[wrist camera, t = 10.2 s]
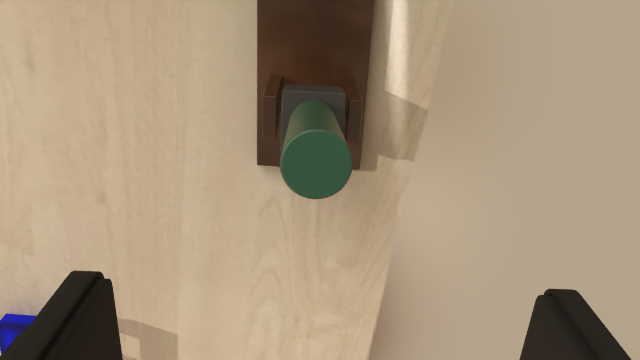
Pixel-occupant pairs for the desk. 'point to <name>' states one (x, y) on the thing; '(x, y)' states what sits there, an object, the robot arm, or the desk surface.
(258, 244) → the desk surface
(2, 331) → the figurine
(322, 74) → the stand
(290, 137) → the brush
